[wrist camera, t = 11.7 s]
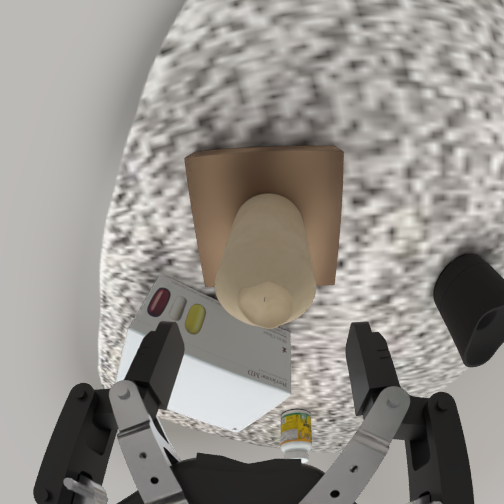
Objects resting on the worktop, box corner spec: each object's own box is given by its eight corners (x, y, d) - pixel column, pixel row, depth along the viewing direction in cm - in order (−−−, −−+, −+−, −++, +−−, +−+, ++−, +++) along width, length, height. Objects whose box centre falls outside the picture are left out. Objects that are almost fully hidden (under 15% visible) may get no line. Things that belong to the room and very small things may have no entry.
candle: (221, 217, 22) (186, 295, 14) (277, 178, 20) (279, 239, 12) (261, 265, 24) (252, 356, 16) (315, 233, 22) (337, 318, 14)
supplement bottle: (276, 412, 43) (274, 459, 35) (305, 406, 41) (306, 455, 33) (287, 422, 45) (286, 466, 37) (314, 417, 44) (316, 462, 35)
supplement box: (292, 329, 32) (294, 395, 24) (243, 380, 38) (237, 434, 30) (160, 269, 29) (125, 328, 21) (137, 335, 36) (112, 387, 27)
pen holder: (478, 300, 28) (510, 350, 20) (425, 318, 30) (453, 377, 21) (490, 242, 24) (537, 290, 15) (433, 258, 26) (477, 317, 17)
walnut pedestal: (335, 146, 21) (343, 151, 19) (329, 267, 27) (334, 284, 25) (194, 151, 23) (184, 158, 20) (211, 269, 28) (205, 286, 26)
